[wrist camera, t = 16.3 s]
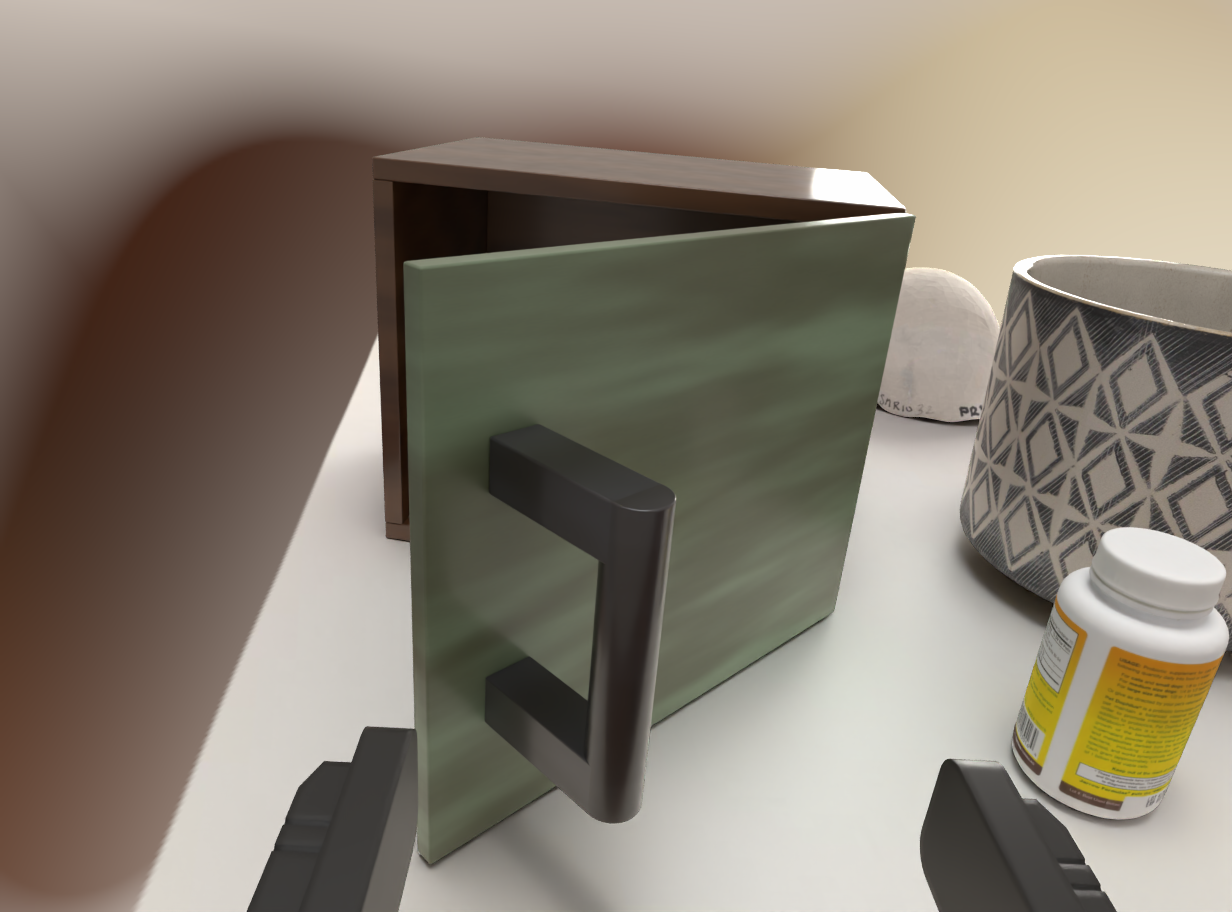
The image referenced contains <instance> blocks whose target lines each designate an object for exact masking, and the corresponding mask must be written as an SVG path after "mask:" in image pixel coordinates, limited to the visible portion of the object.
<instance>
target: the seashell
mask: <svg viewBox="0 0 1232 912" xmlns="http://www.w3.org/2000/svg"><path fill="white" fill-rule="evenodd" d="M999 332H1000V327H999V324H998V321H997V319H996V317H995V315H994V312H993V310H992V308H991V306H990V305H989V303H988V302H987V300H986V299H985V298H984V296H983V295H982V294H981V293H980V292H979V291H978V290H977V289H976V288H975V287H974V286H973V285H972V284H971V283H969V282H968V281H966V280H965V279H963V278H961V277H960V276H958V275H956V274H953V273H950V272H948V271H944V270H941V269H934V268H908V269H905V271H904V276H903V281H902V286H901V290H900V295H899V300H898V305H897V310H896V315H895V319H894V324H893V329H892V334H891V339H890V344H889V348H888V353H887V358H886V363H885V368H884V373H883V377H882V382H881V387H880V392H879V397H878V402H877V403H878V404H879V405H880V406H881V407H882V408H883V409H885V410H886V411H888V412H890V413H892V414H896V415H900V416H904V417H925V418H930V419H935V420H940V421H946V422H958V421H964V420H971V419H980V416H981V411H982V407H983V403H984V398H985V394H986V389H987V385H988V380H989V376H990V372H991V367H992V363H993V358H994V354H995V350H996V345H997V341H998V336H999Z"/></svg>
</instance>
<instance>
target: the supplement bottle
mask: <svg viewBox="0 0 1232 912" xmlns="http://www.w3.org/2000/svg"><path fill="white" fill-rule="evenodd" d="M1225 578H1226V569H1225V567H1224V565H1223V564H1222V563H1221V562H1220V561H1219V560H1218V559H1217V558H1216V557H1215V556H1214V555H1212V554H1211V553H1210V552H1208V551H1206V550H1205V549H1203V548H1201V547H1199V546H1198V545H1196V544H1193V543H1191V542H1189V541H1187V540H1185V539H1182V538H1179V537H1176V536H1173V535H1170V534H1167V533H1163V532H1160V531H1155V530H1150V529H1144V528H1134V527H1123V528H1115V529H1112V530H1109V531H1107V532H1106V533H1105V534H1104V535H1103V536H1102V538H1101V540H1100V543H1099V546H1098V549H1097V551H1096V554H1095V555H1094V557H1093V559H1092V565H1091V567H1086V568H1082V569H1079V570H1076V571H1074V572H1072V573H1071V574H1069V575H1068V576H1067V577H1066V578H1065V579H1064V580H1063V581H1062V583H1061V585H1060V587H1059V590H1058V592H1057V595H1056V598H1055V602H1054V605H1053V608H1052V611H1051V614H1050V617H1049V620H1048V624H1047V627H1046V630H1045V633H1044V636H1043V639H1042V643H1041V646H1040V649H1039V652H1038V655H1037V658H1036V661H1035V664H1034V667H1033V670H1032V674H1031V677H1030V680H1029V684H1028V687H1027V690H1026V693H1025V696H1024V700H1023V703H1022V706H1021V709H1020V712H1019V715H1018V718H1017V722H1016V724H1015V727H1014V732H1013V737H1012V746H1013V751H1014V755H1015V757H1016V759H1017V761H1018V763H1019V765H1020V767H1021V768H1022V770H1023V771H1024V772H1025V774H1026V775H1027V776H1028V777H1029V778H1030V779H1031V780H1032V781H1033V782H1034V783H1035V784H1036V785H1037V786H1038V787H1039V788H1041V789H1042V790H1043V791H1044V792H1046V793H1047V794H1049V795H1050V796H1051V797H1053V798H1055V799H1056V800H1058V801H1060V802H1062V803H1063V804H1065V805H1067V806H1069V807H1072V808H1074V809H1076V810H1079V811H1081V812H1084V813H1087V814H1090V815H1094V816H1098V817H1102V818H1108V819H1132V818H1137V817H1141V816H1143V815H1146V814H1148V813H1150V812H1151V811H1153V810H1154V809H1155V808H1156V807H1157V806H1158V805H1159V804H1160V802H1161V801H1162V799H1163V797H1164V795H1165V793H1166V790H1167V788H1168V785H1169V783H1170V781H1171V778H1172V776H1173V774H1174V771H1175V769H1176V767H1177V764H1178V762H1179V760H1180V757H1181V755H1182V753H1183V750H1184V748H1185V745H1186V743H1187V741H1188V738H1189V736H1190V734H1191V731H1192V729H1193V727H1194V724H1195V722H1196V720H1197V717H1198V715H1199V712H1200V710H1201V708H1202V706H1203V703H1204V701H1205V699H1206V696H1207V694H1208V691H1209V689H1210V687H1211V684H1212V682H1213V679H1214V677H1215V674H1216V672H1217V670H1218V667H1219V665H1220V663H1221V660H1222V658H1223V655H1224V653H1225V651H1226V648H1227V645H1228V641H1229V631H1228V627H1227V625H1226V622H1225V621H1224V619H1223V617H1222V616H1221V615H1220V613H1219V612H1218V611H1217V610H1216V609H1215V608H1214V606H1215V605H1216V604H1217V602H1218V600H1219V593H1220V590H1221V588H1222V585H1223V583H1224V580H1225Z"/></svg>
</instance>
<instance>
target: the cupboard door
mask: <svg viewBox="0 0 1232 912" xmlns="http://www.w3.org/2000/svg"><path fill="white" fill-rule="evenodd" d="M915 218H916V217H915V215H911V214H905V213H892V214H882V215H872V216H862V217H852V218H841V219H831V220H821V221H811V222H801V223H790V224H780V225H770V226H760V227H749V228H739V229H729V230H719V231H709V232H698V233H688V234H678V235H668V236H658V237H647V238H637V239H627V240H617V241H607V242H596V243H586V244H576V245H566V246H556V247H545V248H535V249H525V250H515V251H504V252H494V253H484V254H474V255H464V256H453V257H443V258H433V259H423V260H413V261H406V262H404V264H403V266H404V307H405V348H406V390H407V431H408V472H409V514H410V555H411V596H412V637H413V679H414V720H415V729H416V732H417V747H418V819H417V844H418V852H419V853H420V854H421V855H422V856H423V857H424V859H425V860H426V861H427V862H428V863H429V864H433V863H434V862H436V861H437V860H439V859H441V858H442V857H444V856H445V855H447V854H449V853H450V852H452V851H453V850H455V849H457V848H458V847H460V846H461V845H463V844H464V843H466V842H468V841H469V840H471V839H472V838H474V837H476V836H477V835H479V834H480V833H482V832H484V831H485V830H487V829H488V828H490V827H492V826H493V825H495V824H496V823H498V822H499V821H501V820H503V819H504V818H506V817H507V816H509V815H511V814H512V813H514V812H515V811H517V810H519V809H520V808H522V807H523V806H525V805H527V804H528V803H530V802H531V801H533V800H534V799H536V798H538V797H539V796H541V795H542V794H544V793H546V792H547V791H549V790H550V789H552V788H554V787H555V786H557V787H558V788H559V789H560V790H562V791H563V792H564V793H565V794H566V795H567V796H568V797H569V798H571V799H572V800H573V801H574V802H575V803H576V804H577V805H578V806H580V807H581V808H582V809H583V810H584V811H585V812H586V813H587V814H589V815H590V816H591V817H593V818H594V819H596V820H598V821H601V822H605V823H622V822H625V821H628V820H630V819H631V818H633V817H634V816H635V815H636V814H637V813H638V812H639V810H640V808H641V805H642V798H643V789H644V781H645V772H646V763H647V754H648V745H649V737H650V728H651V726H652V725H654V724H655V723H657V722H659V721H660V720H662V719H663V718H665V717H667V716H668V715H670V714H671V713H673V712H675V711H676V710H678V709H679V708H681V707H682V706H684V705H686V704H687V703H689V702H690V701H692V700H694V699H695V698H697V697H698V696H700V695H702V694H703V693H705V692H706V691H708V690H710V689H711V688H713V687H714V686H716V685H717V684H719V683H721V682H722V681H724V680H725V679H727V678H729V677H730V676H732V675H733V674H735V673H737V672H738V671H740V670H741V669H743V668H745V667H746V666H748V665H749V664H751V663H752V662H754V661H756V660H757V659H759V658H760V657H762V656H764V655H765V654H767V653H768V652H770V651H772V650H773V649H775V648H776V647H778V646H780V645H781V644H783V643H784V642H786V641H788V640H789V639H791V638H792V637H794V636H795V635H797V634H799V633H800V632H802V631H803V630H805V629H807V628H808V627H810V626H811V625H813V624H815V623H816V622H818V621H819V620H821V619H823V618H824V617H826V616H827V615H829V614H830V613H832V612H834V609H835V604H836V600H837V595H838V590H839V585H840V580H841V575H842V571H843V566H844V561H845V556H846V551H847V546H848V542H849V537H850V532H851V527H852V522H853V517H854V513H855V508H856V503H857V498H858V493H859V488H860V484H861V479H862V474H863V469H864V464H865V459H866V455H867V450H868V445H869V440H870V435H871V430H872V426H873V421H874V416H875V411H876V406H877V402H878V397H879V392H880V387H881V382H882V377H883V373H884V368H885V363H886V358H887V353H888V348H889V344H890V339H891V334H892V329H893V324H894V319H895V315H896V310H897V305H898V300H899V295H900V290H901V286H902V281H903V276H904V271H905V266H906V261H907V257H908V252H909V247H910V242H911V237H912V232H913V228H914V223H915Z"/></svg>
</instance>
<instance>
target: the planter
mask: <svg viewBox="0 0 1232 912" xmlns="http://www.w3.org/2000/svg"><path fill="white" fill-rule="evenodd" d="M960 520H961V524H962V527H963V529H964V532H965V534H966V535H967V537H968V539H969V540H970V542H971V543H972V544H973V546H974V547H975V548H976V550H977V551H978V552H979V553H980V554H981V555H982V556H983V557H984V558H985V559H986V560H987V561H988V562H989V563H990V564H992V565H993V566H994V567H995V568H996V569H998V570H999V571H1000V572H1002V573H1003V574H1004V575H1006V576H1007V577H1009V578H1010V579H1012V580H1013V581H1015V582H1016V583H1018V584H1019V585H1021V586H1023V587H1024V588H1026V589H1028V590H1029V591H1031V592H1033V593H1035V594H1036V595H1038V596H1040V597H1042V598H1044V599H1046V600H1048V601H1050V602H1052V603H1054V602H1055V598H1056V595H1057V592H1058V590H1059V587H1060V585H1061V583H1062V581H1063V580H1064V579H1065V578H1066V577H1067V576H1068V575H1069V574H1071V573H1072V572H1074V571H1076V570H1079V569H1082V568H1086V567H1091V565H1092V559H1093V557H1094V555H1095V554H1096V551H1097V549H1098V546H1099V543H1100V540H1101V538H1102V536H1103V535H1104V534H1105V533H1106V532H1107V531H1109V530H1112V529H1115V528H1123V527H1134V528H1144V529H1150V530H1155V531H1160V532H1163V533H1167V534H1170V535H1173V536H1176V537H1179V538H1182V539H1185V540H1187V541H1189V542H1191V543H1193V544H1196V545H1198V546H1199V547H1201V548H1203V549H1205V550H1206V551H1208V552H1210V553H1211V554H1212V555H1214V556H1215V557H1216V558H1217V559H1218V560H1219V561H1220V562H1221V563H1222V564H1223V565H1224V567H1225V569H1226V578H1225V580H1224V583H1223V585H1222V588H1221V590H1220V593H1219V600H1218V602H1217V604H1216V605H1215V606H1214V608H1215V609H1216V610H1217V611H1218V612H1219V613H1220V615H1221V616H1222V617H1223V619H1224V621H1225V622H1226V625H1227V627H1228V631H1229V641H1228V645H1227V648H1226V651H1232V271H1231V270H1225V269H1218V268H1211V267H1204V266H1197V265H1189V264H1181V263H1173V262H1164V261H1155V260H1144V259H1134V258H1122V257H1107V256H1082V255H1060V256H1042V257H1035V258H1030V259H1026V260H1023V261H1021V262H1019V263H1017V264H1016V265H1015V267H1014V271H1013V274H1012V279H1011V283H1010V288H1009V292H1008V297H1007V301H1006V305H1005V310H1004V314H1003V319H1002V323H1001V327H1000V332H999V336H998V341H997V345H996V350H995V354H994V358H993V363H992V367H991V372H990V376H989V380H988V385H987V389H986V394H985V398H984V403H983V407H982V411H981V416H980V420H979V425H978V429H977V433H976V438H975V442H974V447H973V451H972V456H971V460H970V464H969V469H968V473H967V478H966V482H965V486H964V491H963V495H962V500H961V505H960Z"/></svg>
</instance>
